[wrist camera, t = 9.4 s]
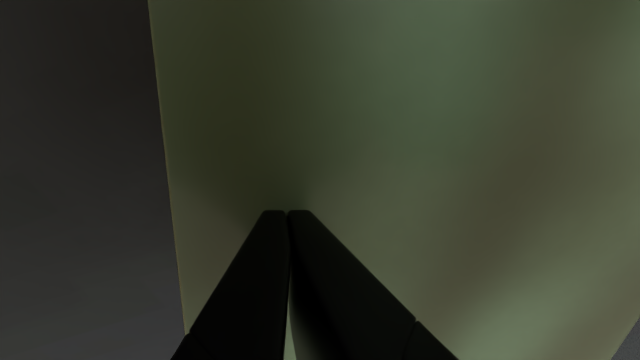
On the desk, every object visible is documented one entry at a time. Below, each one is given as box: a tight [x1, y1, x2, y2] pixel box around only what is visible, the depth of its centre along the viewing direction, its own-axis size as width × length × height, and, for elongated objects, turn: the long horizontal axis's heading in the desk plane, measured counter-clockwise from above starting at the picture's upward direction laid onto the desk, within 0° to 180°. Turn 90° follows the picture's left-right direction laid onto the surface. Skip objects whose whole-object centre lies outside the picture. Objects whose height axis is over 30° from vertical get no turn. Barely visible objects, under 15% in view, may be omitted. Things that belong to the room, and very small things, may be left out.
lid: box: [147, 0, 640, 360], centre depth 9 cm, size 12×13×1 cm
